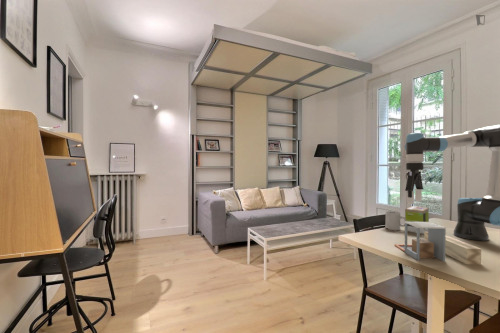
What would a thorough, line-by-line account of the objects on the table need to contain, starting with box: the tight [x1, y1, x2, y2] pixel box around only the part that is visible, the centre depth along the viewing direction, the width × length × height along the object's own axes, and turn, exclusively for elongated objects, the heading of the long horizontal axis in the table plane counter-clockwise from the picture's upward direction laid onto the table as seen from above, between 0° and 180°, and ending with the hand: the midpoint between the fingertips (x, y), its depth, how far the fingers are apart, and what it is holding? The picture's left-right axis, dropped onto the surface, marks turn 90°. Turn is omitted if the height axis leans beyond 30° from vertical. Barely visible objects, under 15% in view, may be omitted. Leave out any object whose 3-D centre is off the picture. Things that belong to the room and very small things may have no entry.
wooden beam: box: [423, 231, 482, 265], centre depth 114 cm, size 6×26×7 cm, turn 178°
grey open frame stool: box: [394, 220, 447, 262], centre depth 114 cm, size 12×19×15 cm, turn 176°
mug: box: [384, 210, 406, 231], centre depth 156 cm, size 12×8×11 cm
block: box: [411, 238, 435, 260], centre depth 110 cm, size 6×6×7 cm
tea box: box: [404, 205, 430, 235], centre depth 153 cm, size 15×10×15 cm, turn 132°
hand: (414, 202), depth 125 cm, fingers open, 13 cm apart
